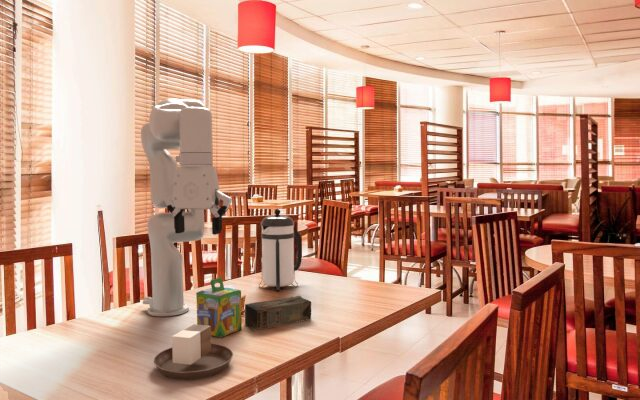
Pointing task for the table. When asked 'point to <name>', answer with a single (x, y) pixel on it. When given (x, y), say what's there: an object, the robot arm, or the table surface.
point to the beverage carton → (277, 312)
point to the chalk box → (219, 309)
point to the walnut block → (203, 337)
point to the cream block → (186, 347)
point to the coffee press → (279, 251)
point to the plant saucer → (194, 364)
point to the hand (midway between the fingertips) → (198, 233)
